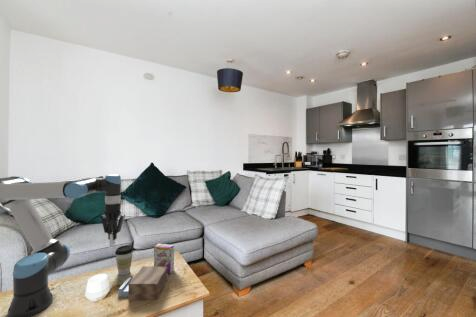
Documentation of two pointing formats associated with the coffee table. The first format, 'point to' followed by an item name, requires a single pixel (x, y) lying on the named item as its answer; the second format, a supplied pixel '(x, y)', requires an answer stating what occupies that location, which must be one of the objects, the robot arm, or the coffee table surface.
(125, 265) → the coffee cup
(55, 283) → the coffee table surface
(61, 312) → the coffee table surface
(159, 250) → the candy bar box
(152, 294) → the wooden box
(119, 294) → the tray
